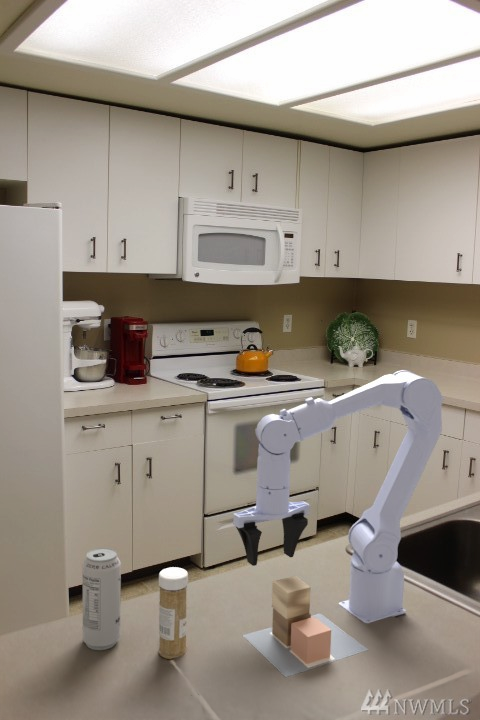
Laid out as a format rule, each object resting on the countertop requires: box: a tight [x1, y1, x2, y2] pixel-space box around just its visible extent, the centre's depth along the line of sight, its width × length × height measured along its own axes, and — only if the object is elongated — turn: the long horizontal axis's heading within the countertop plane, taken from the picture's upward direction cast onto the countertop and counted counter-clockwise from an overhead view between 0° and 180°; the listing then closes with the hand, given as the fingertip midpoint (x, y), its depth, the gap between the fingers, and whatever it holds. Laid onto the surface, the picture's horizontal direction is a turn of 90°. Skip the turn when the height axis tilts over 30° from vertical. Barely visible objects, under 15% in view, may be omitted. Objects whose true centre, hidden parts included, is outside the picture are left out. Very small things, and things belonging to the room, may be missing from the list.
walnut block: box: [271, 607, 312, 647], centre depth 111 cm, size 4×4×4 cm
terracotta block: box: [290, 617, 331, 664], centre depth 106 cm, size 4×4×4 cm
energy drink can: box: [82, 547, 122, 651], centre depth 108 cm, size 6×6×15 cm
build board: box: [242, 613, 369, 678], centre depth 110 cm, size 16×13×1 cm
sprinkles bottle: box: [158, 566, 189, 660], centre depth 106 cm, size 5×5×13 cm
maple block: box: [271, 575, 311, 619], centre depth 111 cm, size 4×4×4 cm
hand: (270, 559), depth 118 cm, fingers open, 7 cm apart
